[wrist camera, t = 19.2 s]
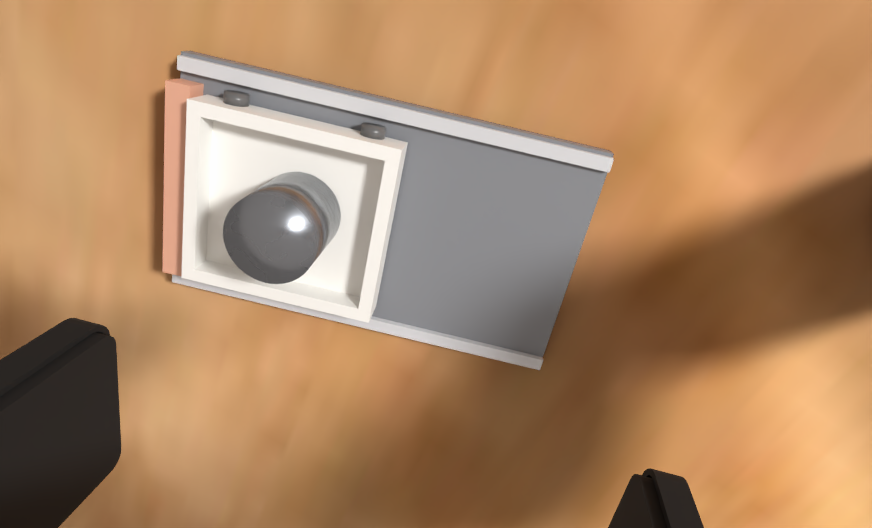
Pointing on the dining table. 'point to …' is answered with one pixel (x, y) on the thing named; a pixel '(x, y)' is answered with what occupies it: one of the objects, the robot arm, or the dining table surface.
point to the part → (282, 227)
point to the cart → (270, 157)
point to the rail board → (430, 211)
